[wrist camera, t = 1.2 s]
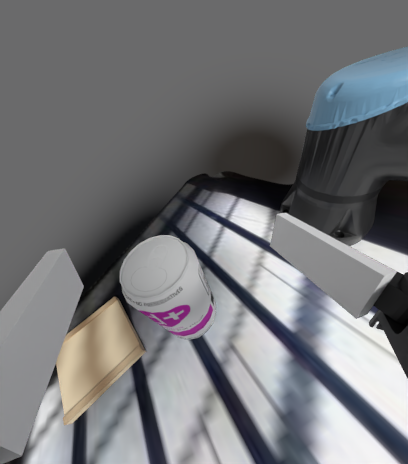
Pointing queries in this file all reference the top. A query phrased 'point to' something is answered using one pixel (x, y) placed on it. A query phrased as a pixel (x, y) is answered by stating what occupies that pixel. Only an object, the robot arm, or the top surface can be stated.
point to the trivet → (95, 357)
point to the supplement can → (169, 286)
